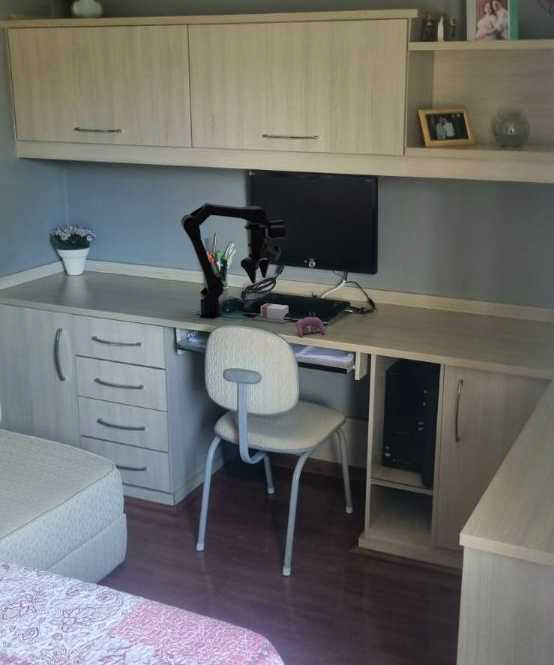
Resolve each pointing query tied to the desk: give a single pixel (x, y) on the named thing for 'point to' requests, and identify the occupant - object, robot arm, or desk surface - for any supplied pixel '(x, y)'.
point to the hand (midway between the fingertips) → (258, 280)
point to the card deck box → (274, 311)
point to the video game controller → (309, 321)
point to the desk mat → (270, 320)
